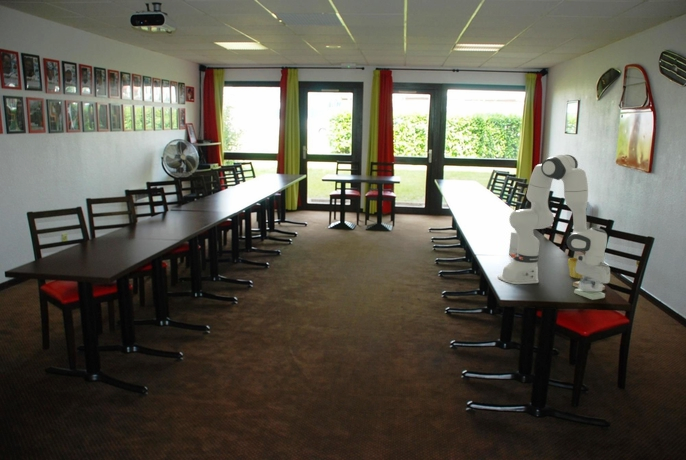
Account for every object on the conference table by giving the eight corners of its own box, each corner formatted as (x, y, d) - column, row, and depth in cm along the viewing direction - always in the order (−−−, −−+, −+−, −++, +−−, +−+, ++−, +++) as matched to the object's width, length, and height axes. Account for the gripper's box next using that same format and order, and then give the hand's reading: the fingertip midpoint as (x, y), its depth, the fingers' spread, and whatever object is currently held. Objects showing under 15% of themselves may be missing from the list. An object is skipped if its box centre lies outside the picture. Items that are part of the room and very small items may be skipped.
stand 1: (590, 292, 281) (591, 288, 281) (572, 285, 291) (573, 282, 290) (604, 289, 286) (605, 286, 286) (586, 283, 296) (587, 280, 295)
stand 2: (592, 299, 269) (593, 295, 268) (574, 293, 278) (574, 289, 278) (604, 297, 273) (605, 293, 273) (585, 291, 283) (586, 287, 282)
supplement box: (526, 254, 355) (528, 232, 352) (522, 257, 348) (525, 234, 344) (512, 252, 360) (514, 230, 357) (508, 254, 352) (510, 232, 349)
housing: (582, 290, 273) (584, 281, 271) (578, 288, 277) (579, 278, 276) (601, 291, 273) (603, 281, 272) (597, 288, 278) (598, 278, 277)
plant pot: (563, 276, 308) (565, 259, 306) (569, 273, 315) (572, 256, 313) (582, 280, 301) (584, 263, 299) (588, 277, 309) (590, 260, 307)
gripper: (615, 265, 263) (611, 292, 266) (584, 254, 282) (581, 280, 285) (605, 266, 261) (600, 293, 264) (574, 255, 280) (571, 280, 283)
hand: (590, 286), depth 275 cm, fingers closed on housing, 5 cm apart
